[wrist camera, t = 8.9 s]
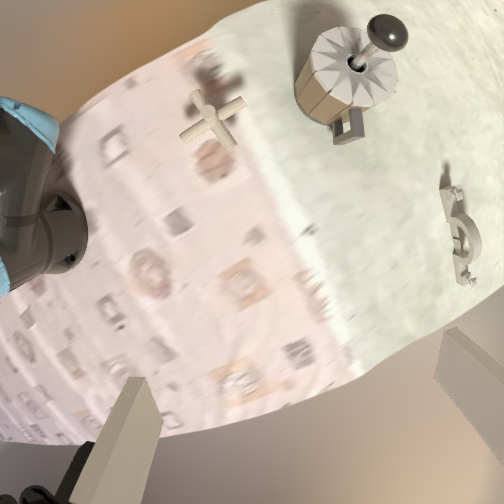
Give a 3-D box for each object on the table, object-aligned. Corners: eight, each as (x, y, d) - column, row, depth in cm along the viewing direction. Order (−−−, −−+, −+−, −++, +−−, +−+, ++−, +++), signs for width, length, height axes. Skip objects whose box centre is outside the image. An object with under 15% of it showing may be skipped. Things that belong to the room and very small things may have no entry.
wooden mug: (299, 147, 43) (321, 133, 29) (290, 64, 40) (305, 23, 26) (364, 147, 43) (407, 136, 29) (354, 67, 39) (388, 33, 26)
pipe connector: (226, 85, 40) (221, 62, 31) (261, 135, 42) (264, 122, 33) (173, 119, 42) (154, 104, 32) (206, 169, 44) (194, 166, 34)
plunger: (309, 112, 39) (364, 55, 18) (303, 65, 37) (345, -16, 16) (359, 113, 39) (442, 70, 17) (352, 68, 37) (421, 2, 16)
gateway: (437, 189, 45) (463, 192, 37) (445, 185, 45) (472, 188, 37) (454, 281, 49) (477, 294, 41) (462, 276, 49) (485, 289, 41)
